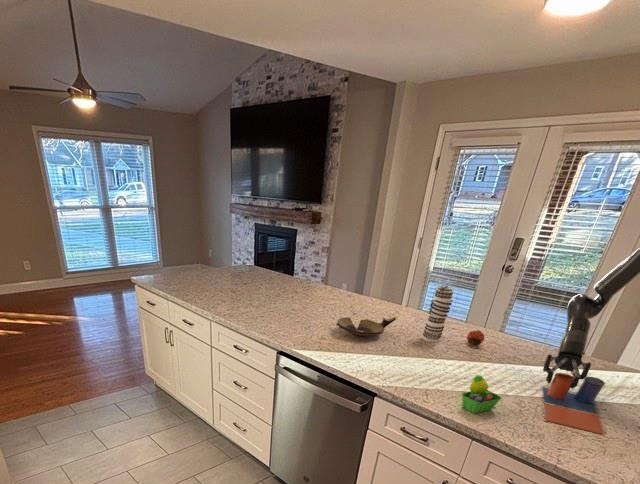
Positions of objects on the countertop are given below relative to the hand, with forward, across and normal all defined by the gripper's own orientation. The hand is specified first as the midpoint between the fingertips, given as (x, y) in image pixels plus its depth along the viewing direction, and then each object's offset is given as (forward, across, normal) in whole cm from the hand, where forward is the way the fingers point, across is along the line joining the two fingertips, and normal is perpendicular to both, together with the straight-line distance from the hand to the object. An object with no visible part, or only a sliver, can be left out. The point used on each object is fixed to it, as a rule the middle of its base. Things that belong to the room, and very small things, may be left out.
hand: (560, 384), depth 152 cm
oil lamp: (-15, -81, +23) cm, 85 cm away
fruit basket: (+22, -25, -13) cm, 36 cm away
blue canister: (+1, +9, +6) cm, 11 cm away
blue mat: (+3, +4, +4) cm, 7 cm away
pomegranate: (-26, -32, +35) cm, 54 cm away
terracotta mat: (+14, +5, -6) cm, 16 cm away
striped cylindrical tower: (-24, -51, +32) cm, 65 cm away
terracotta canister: (+3, 0, +4) cm, 5 cm away
